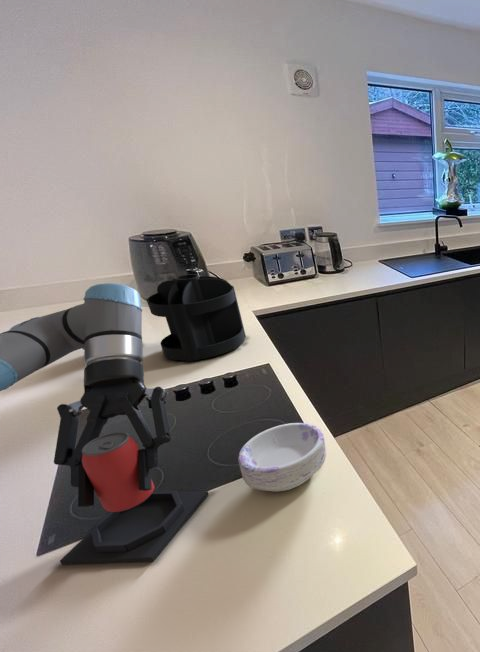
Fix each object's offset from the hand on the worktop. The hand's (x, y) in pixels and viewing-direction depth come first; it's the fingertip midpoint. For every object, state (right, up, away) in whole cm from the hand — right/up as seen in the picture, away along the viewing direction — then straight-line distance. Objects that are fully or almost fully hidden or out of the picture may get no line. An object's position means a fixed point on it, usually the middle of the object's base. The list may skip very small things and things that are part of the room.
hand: (116, 497), depth 64 cm
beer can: (-2, -2, +4) cm, 5 cm away
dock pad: (-2, -8, +7) cm, 11 cm away
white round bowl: (+17, -4, +19) cm, 26 cm away
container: (-40, +19, +72) cm, 85 cm away
